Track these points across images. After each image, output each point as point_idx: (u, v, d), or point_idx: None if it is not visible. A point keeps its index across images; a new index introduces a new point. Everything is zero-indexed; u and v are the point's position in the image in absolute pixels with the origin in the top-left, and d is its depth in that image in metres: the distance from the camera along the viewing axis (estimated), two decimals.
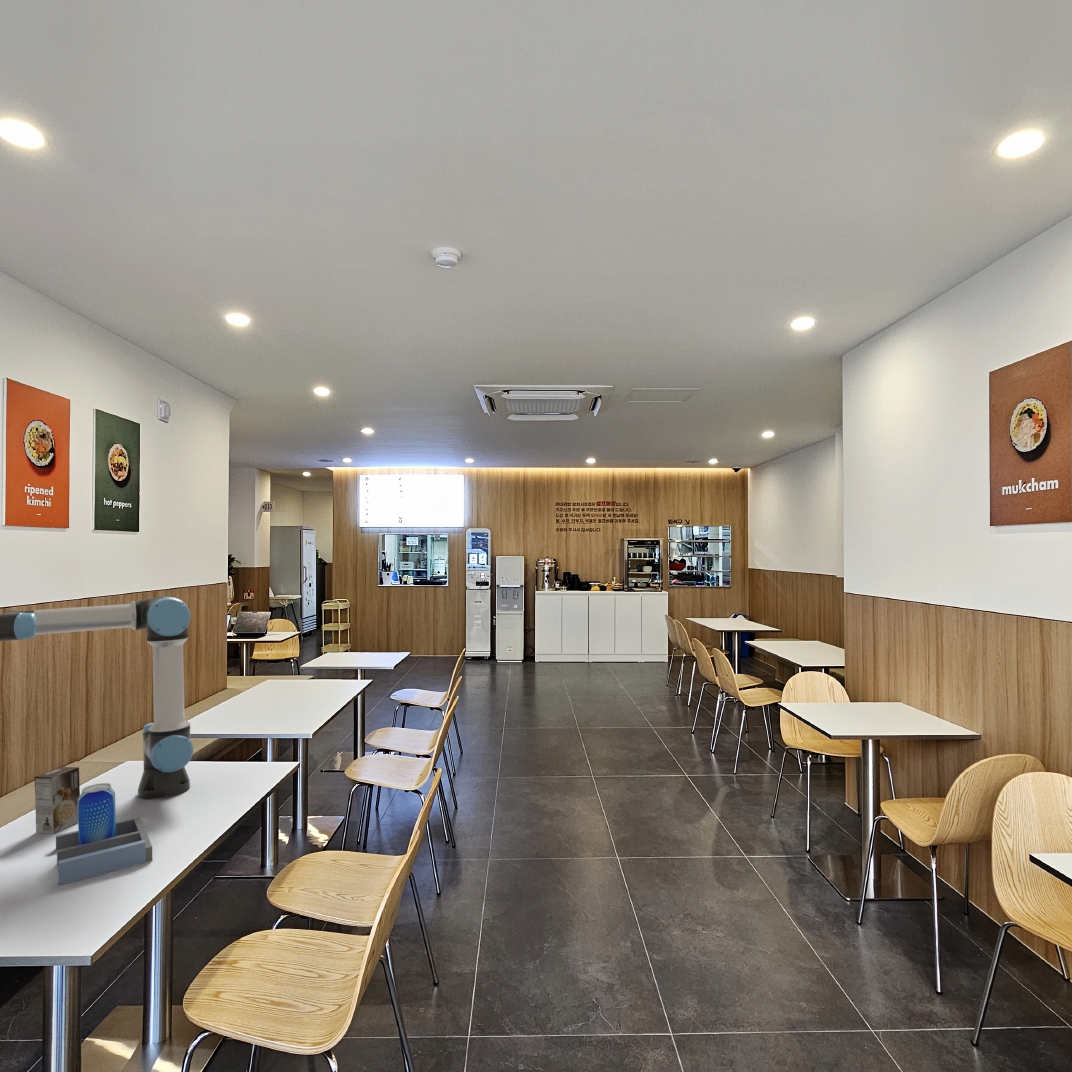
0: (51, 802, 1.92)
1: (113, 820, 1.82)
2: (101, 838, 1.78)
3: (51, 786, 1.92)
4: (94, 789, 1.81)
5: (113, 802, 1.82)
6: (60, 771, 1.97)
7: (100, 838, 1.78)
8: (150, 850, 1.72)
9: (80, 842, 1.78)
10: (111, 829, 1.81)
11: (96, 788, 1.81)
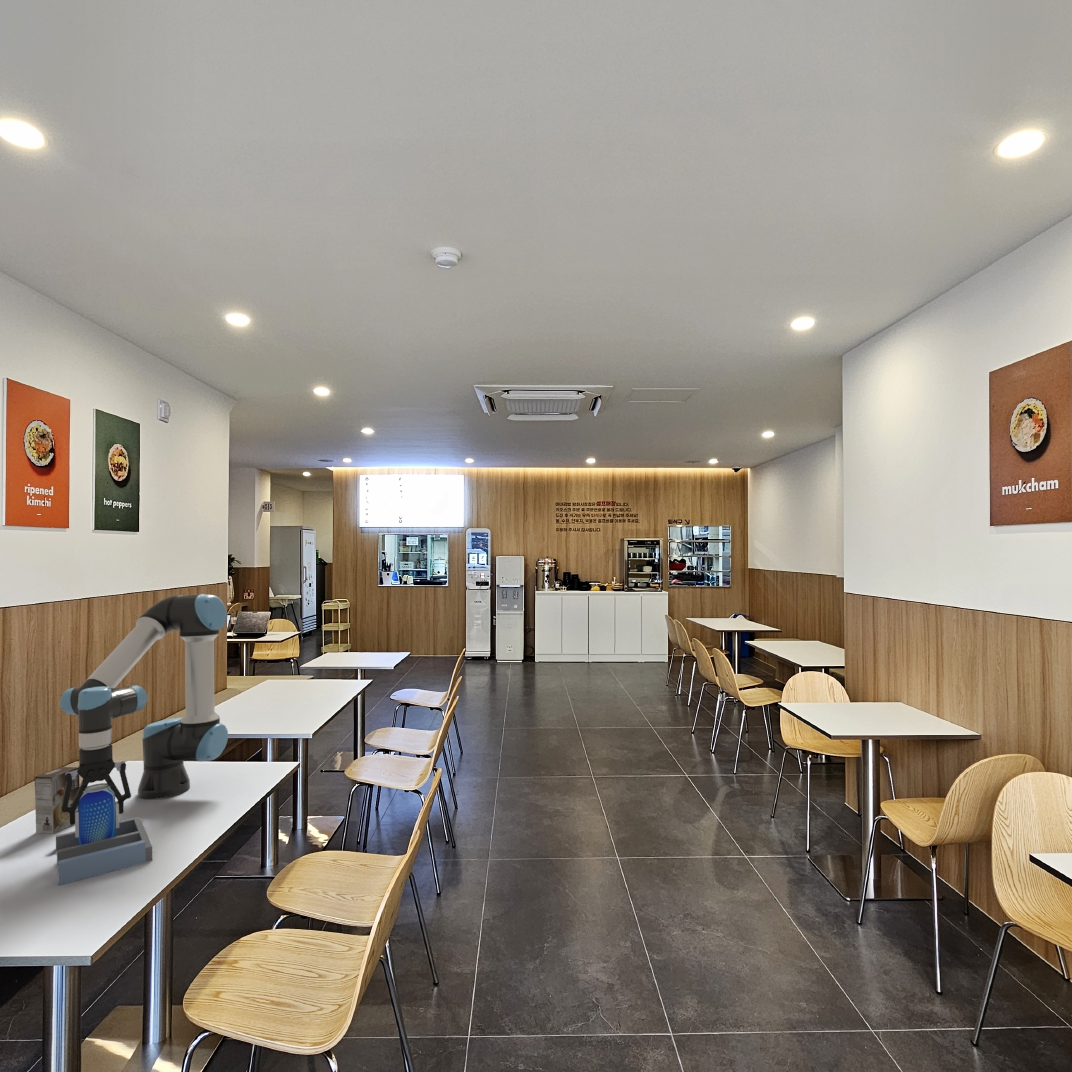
0: (51, 802, 1.92)
1: (113, 820, 1.82)
2: (101, 838, 1.78)
3: (51, 786, 1.92)
4: (94, 789, 1.81)
5: (113, 802, 1.82)
6: (60, 771, 1.97)
7: (100, 838, 1.78)
8: (150, 850, 1.72)
9: (80, 842, 1.78)
10: (111, 829, 1.81)
11: (96, 788, 1.81)
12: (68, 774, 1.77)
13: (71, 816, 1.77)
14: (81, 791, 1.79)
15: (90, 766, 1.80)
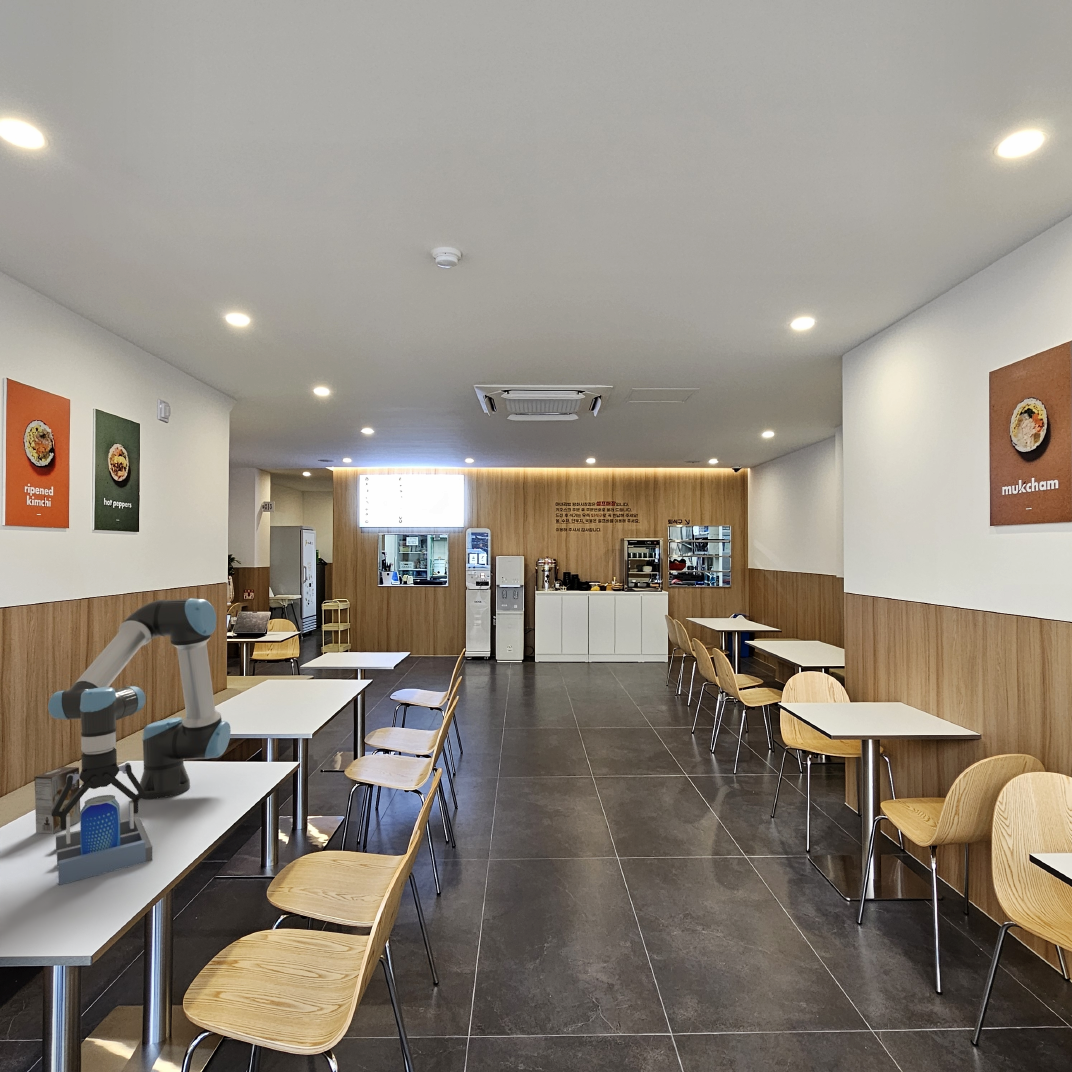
0: (51, 802, 1.92)
1: (117, 834, 1.72)
2: None
3: (51, 786, 1.92)
4: (97, 801, 1.71)
5: (117, 815, 1.72)
6: (60, 771, 1.97)
7: None
8: (150, 850, 1.72)
9: None
10: (115, 844, 1.71)
11: (99, 800, 1.72)
12: (70, 776, 1.67)
13: (62, 821, 1.67)
14: (78, 796, 1.68)
15: (94, 773, 1.71)
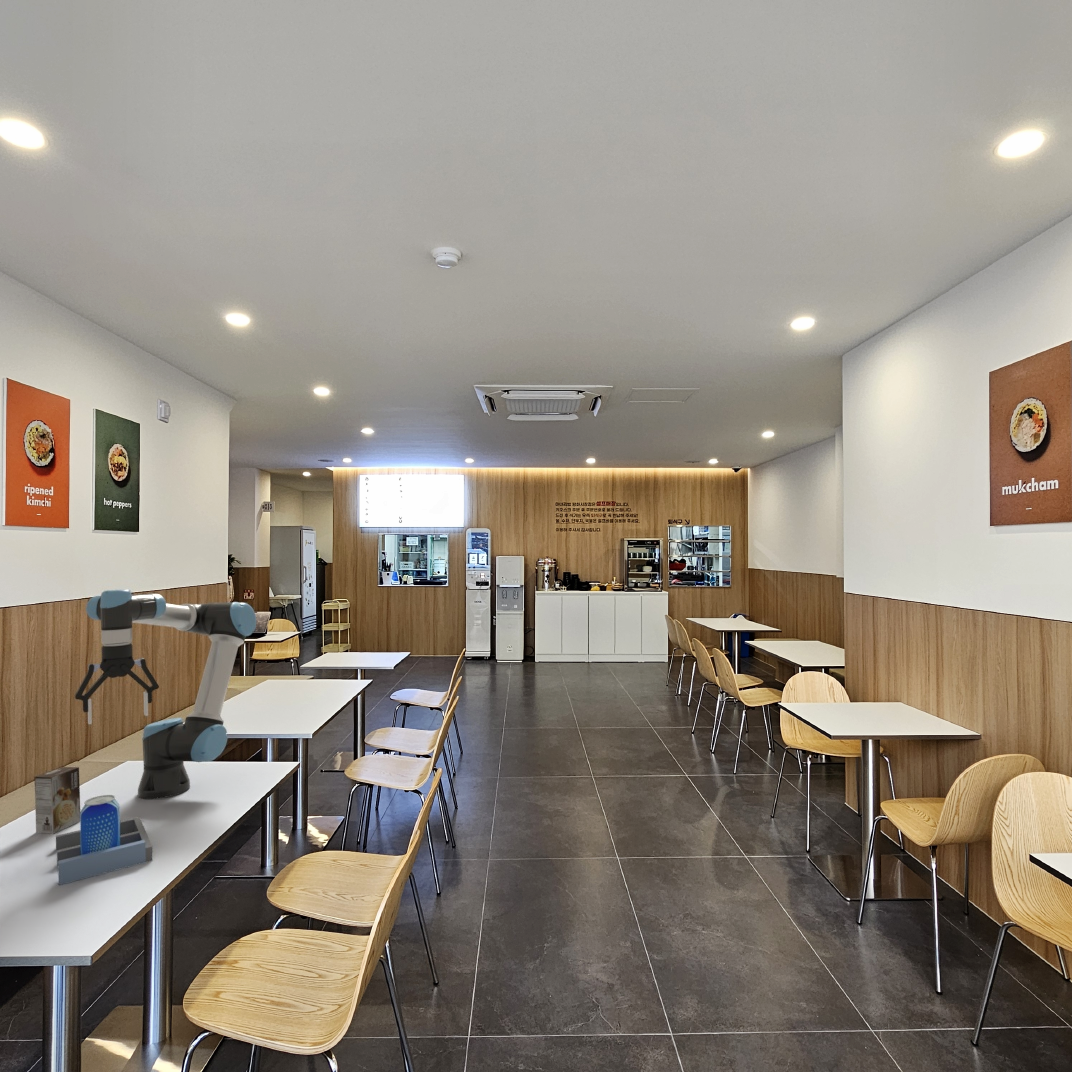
0: (51, 802, 1.92)
1: (117, 834, 1.72)
2: None
3: (51, 786, 1.92)
4: (97, 801, 1.71)
5: (117, 815, 1.72)
6: (60, 771, 1.97)
7: None
8: (150, 850, 1.72)
9: None
10: (115, 844, 1.71)
11: (99, 800, 1.72)
12: (92, 665, 1.88)
13: (84, 704, 1.87)
14: (98, 683, 1.88)
15: (112, 664, 1.91)
